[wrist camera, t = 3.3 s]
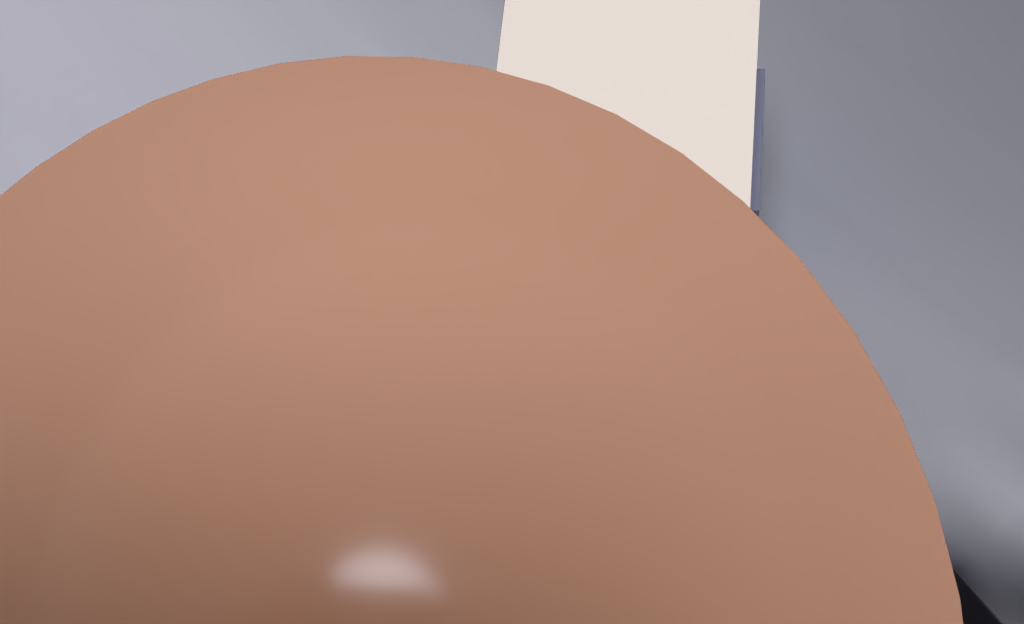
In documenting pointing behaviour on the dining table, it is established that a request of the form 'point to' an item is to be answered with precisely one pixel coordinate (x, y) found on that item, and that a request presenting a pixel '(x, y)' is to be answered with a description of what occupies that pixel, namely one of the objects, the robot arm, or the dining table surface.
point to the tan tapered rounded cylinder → (431, 375)
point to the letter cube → (654, 72)
